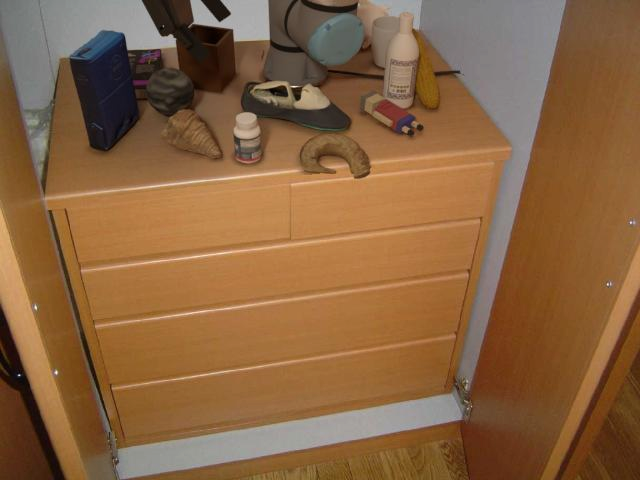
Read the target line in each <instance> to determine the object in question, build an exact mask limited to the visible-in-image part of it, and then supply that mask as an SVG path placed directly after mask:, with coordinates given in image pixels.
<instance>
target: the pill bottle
mask: <svg viewBox="0 0 640 480" xmlns="http://www.w3.org/2000/svg"><path fill="white" fill-rule="evenodd" d="M261 130H262V129H261V127H260V125H259V124H258V116H256V115H255V114H253V113H249V112H245V111H244V112H240V113H238V114H237V115H235V126H234V127H233V131H232V132H233V133H232V134H233V143H234V146H233V147H234V157H235V159H236V160H237V161H238V162H240V163H242V164H254V163H257V162H258V161H260V160H261V159H262V156H263V153H262V135H261Z"/></svg>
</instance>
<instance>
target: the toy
mask: <svg viewBox="0 0 640 480" xmlns="http://www.w3.org/2000/svg"><path fill="white" fill-rule="evenodd" d="M359 109H360V110H361V111H363V114H367V113H368V114H369V115H371V116H372V117H373V118H374V119H376V120H378V121H379V122H380V123H382V124H384V125H385V126H386V127H388V128H390V129H392V130H393V132H396V133H397V134H399V135H401V134H403V133H405V134H406V135H408V136H409V137H412V136H414V135H415V131H414V130H413V129H412V128H414V129H416V130H418V131H419V132H421V131H423V130H424V127H425V126H424V125H423V124H421V123H419V122H417V121H416V116H415V115H413V114H412V113H411V112H410V111H407V110H406V109H402V108H401V107H399V106H397V105H396V104H394V103H392V102H391V101H389V100H387V99H386V100H384V97H382V95H381V94H379V92H378V91H376V90H371V91H369V92H366V93H365V94H363V95H361V96H360V100H359Z"/></svg>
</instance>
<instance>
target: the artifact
mask: <svg viewBox="0 0 640 480" xmlns="http://www.w3.org/2000/svg"><path fill="white" fill-rule="evenodd" d="M323 156H334V157H338V158H341V159H342V160H344V161H345V162H346V163H347V165H348V167H349V172H350V174H351V175H353V179H354V180H361V179H364V178H366V177H368V176H369V175H370V174H371V167H372V166H371V164H370V159H369V156H368V154H367V153H366V151H365V150H364V149H362V148H361V146H360V144H359V143H358V142H357V141H356V140H354V139H352V138H351V137H349V136H348V135H345V134H344V133H343V134H342V133H336V132H335V133H334V132H326V133H321V134H318V135H315V136H313V137H311V138H309V139H308V140H307V141H306V142H305V143H304V144H303V145H302V147H301V148H300V151H299V160H300V163H301V165H302V166H303V170H304V171H305V172H307V173H317V174H327V175H336V174H337V170H335V169H333V168H329V167H326V166H323V165H322V164H321V163H319V158H320V157H323Z"/></svg>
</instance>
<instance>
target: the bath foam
mask: <svg viewBox="0 0 640 480" xmlns="http://www.w3.org/2000/svg"><path fill="white" fill-rule="evenodd" d="M398 17H399V26H398V32H397V33H396V34H395V35H394V37H393V38H392V39H391V41H390V42H389V44H388V47H387V52H386V61H385V68H384V74H383V75H384V78H383V85H382V95H381V96H382V97H384V100H386V99H387V100H389V101H391V102H392V103H394V104H396V105H397V106H399V107H401V108H402V109H404V110H406V109H408V108H410V107H411V106H412V105H413V104H414V98H415V93H416V89H415V84H416V76H417V68H418V60H419V47H418V43H417V41H416V39H415V37H414V35H413V33H412V28H413V29H414V27H413V26H414V18H415V16H414V14H413V13H411V12H400V14H399V16H398Z"/></svg>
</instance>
